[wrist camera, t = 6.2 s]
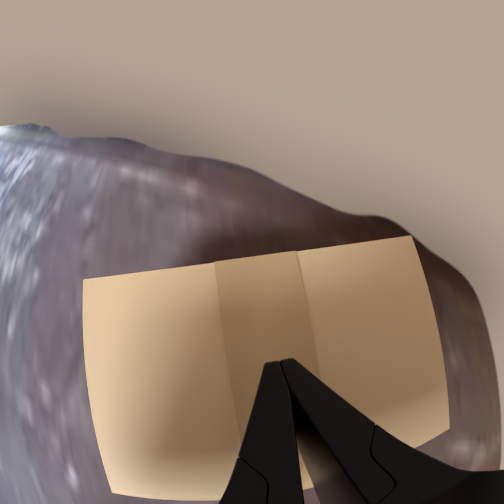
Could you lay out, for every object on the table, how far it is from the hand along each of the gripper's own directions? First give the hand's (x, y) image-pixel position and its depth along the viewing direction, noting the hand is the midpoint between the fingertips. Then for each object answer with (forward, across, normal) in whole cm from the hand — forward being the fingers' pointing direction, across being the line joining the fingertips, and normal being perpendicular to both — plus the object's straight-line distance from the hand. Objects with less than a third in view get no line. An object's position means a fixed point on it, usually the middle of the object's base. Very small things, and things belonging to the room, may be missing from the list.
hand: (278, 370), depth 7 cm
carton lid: (+1, 0, +2) cm, 2 cm away
